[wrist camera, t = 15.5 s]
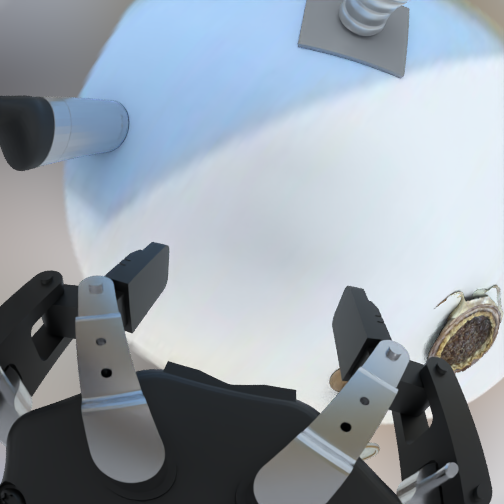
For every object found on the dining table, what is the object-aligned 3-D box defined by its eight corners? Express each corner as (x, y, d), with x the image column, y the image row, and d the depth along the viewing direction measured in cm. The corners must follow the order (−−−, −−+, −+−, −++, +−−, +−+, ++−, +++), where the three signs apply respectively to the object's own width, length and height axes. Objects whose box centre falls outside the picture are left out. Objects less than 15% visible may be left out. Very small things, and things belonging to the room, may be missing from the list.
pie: (502, 336, 45) (510, 347, 41) (421, 388, 55) (426, 402, 50) (496, 256, 38) (509, 267, 34) (395, 325, 48) (401, 341, 43)
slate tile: (297, 46, 30) (298, 43, 29) (310, -19, 25) (311, -23, 23) (400, 78, 30) (403, 76, 28) (406, 11, 24) (409, 8, 23)
